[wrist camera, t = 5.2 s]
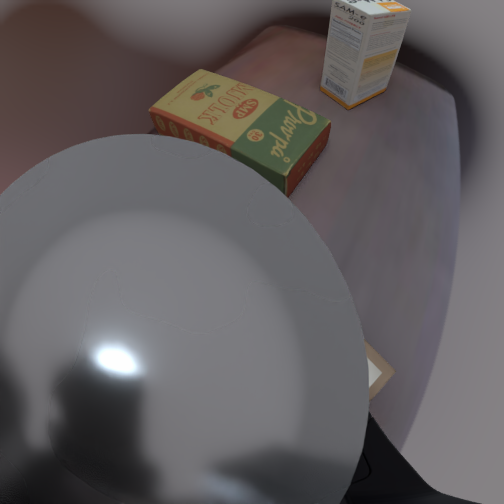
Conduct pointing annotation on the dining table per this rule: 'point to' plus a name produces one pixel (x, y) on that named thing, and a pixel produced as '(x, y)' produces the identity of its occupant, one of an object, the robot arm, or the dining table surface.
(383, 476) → the robot arm
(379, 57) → the supplement box
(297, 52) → the dining table surface
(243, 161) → the carton
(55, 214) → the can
